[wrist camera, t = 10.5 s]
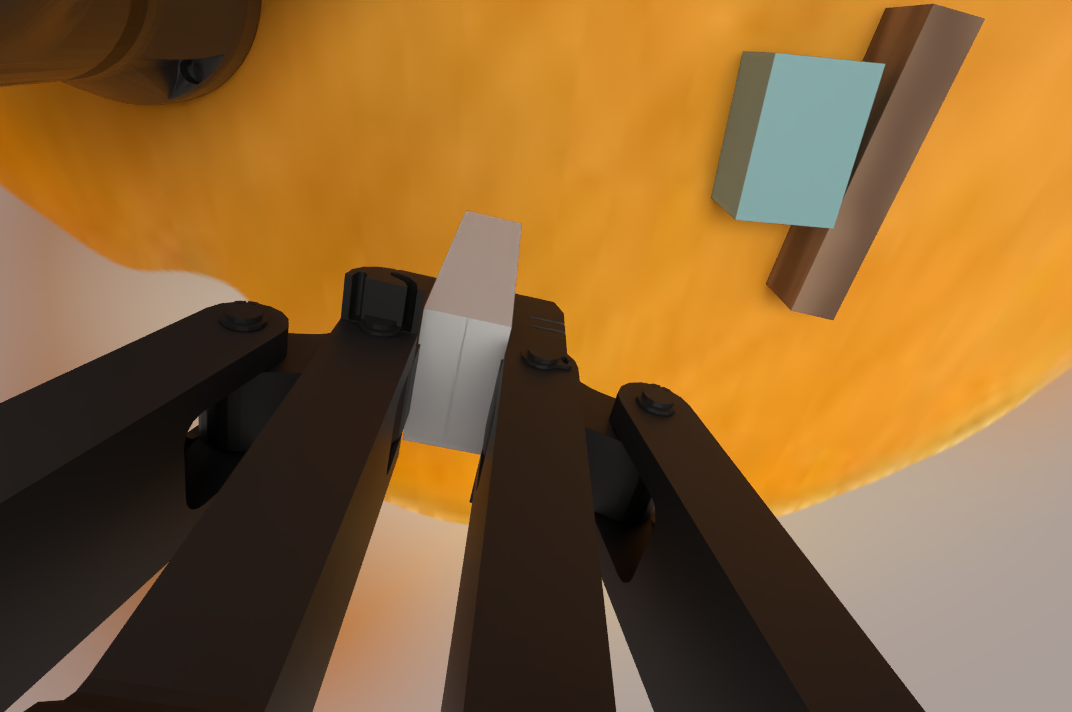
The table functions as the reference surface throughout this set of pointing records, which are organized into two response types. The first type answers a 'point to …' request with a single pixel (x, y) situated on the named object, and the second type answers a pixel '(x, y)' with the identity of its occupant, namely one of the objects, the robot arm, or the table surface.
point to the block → (793, 137)
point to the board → (877, 152)
